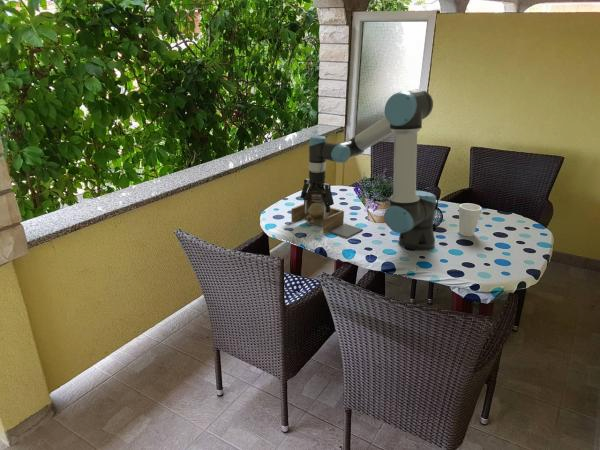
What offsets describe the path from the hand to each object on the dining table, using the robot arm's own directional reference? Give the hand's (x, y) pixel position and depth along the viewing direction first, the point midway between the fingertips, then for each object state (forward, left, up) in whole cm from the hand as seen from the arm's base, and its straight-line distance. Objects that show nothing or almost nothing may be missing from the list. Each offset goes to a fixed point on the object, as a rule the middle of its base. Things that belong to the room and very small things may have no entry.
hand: (316, 215), depth 215 cm
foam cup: (-58, -38, -5) cm, 69 cm away
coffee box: (0, 0, -4) cm, 4 cm away
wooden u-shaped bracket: (0, -1, -4) cm, 5 cm away
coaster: (-16, -3, -4) cm, 16 cm away
